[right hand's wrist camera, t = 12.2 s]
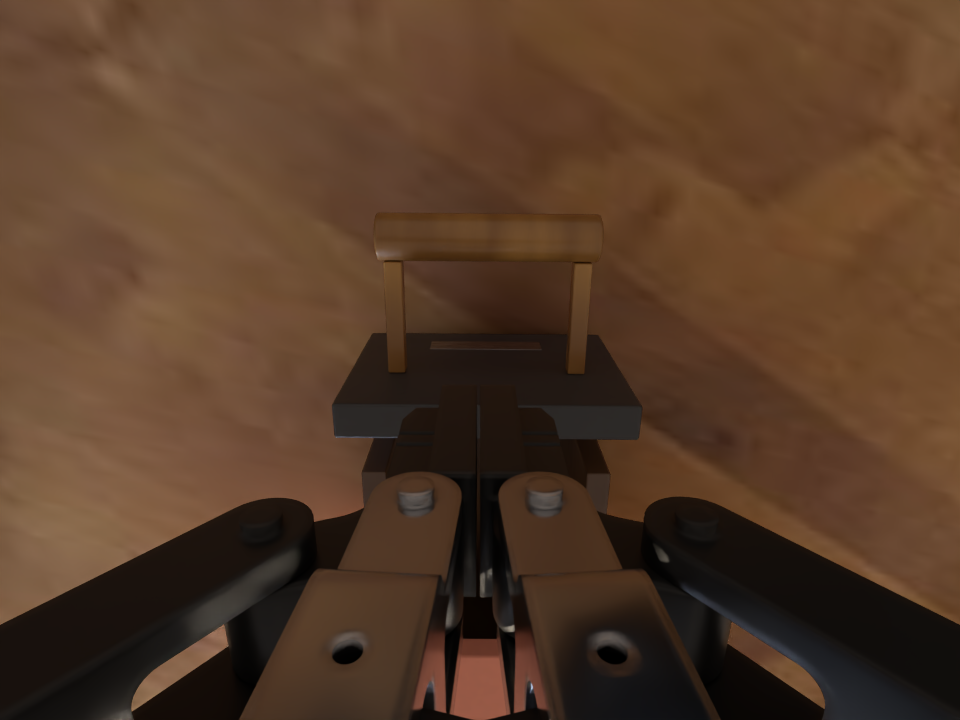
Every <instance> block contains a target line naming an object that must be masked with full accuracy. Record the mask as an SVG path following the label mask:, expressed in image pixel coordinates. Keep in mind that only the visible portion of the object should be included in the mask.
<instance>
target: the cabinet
mask: <svg viewBox="0 0 960 720" xmlns="http://www.w3.org/2000/svg"><path fill="white" fill-rule="evenodd" d="M454 715H456V716H460V717H464V718H468V719H473V720H487V719H492V718H496V717H500V716H504V715H506V707H505V699H504V692H503V684H502V676H501V668H500V660H499V653H498V645H497V639H463V645H462V653H461V660H460V668H459V676H458V684H457V692H456V699H455V707H454Z"/></svg>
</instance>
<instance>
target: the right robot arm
mask: <svg viewBox="0 0 960 720" xmlns="http://www.w3.org/2000/svg"><path fill="white" fill-rule="evenodd" d="M476 545H477V385H442V388H441V395H440V401H439V408H415V409H414V410H413V411H412V412H411V413H409V414H408V415H407V416H406V417H405V418H403V420H402V424H401V427H400V431H399V435H398V438H397V442H396V446H395V449H394V452H393V456H392V460H391V463H390V467H389V470H388V474H387V478H386V480H384V481H382V482H381V483H380V484H378V485H377V486H376V487H375V488H374V489H373V491H372V493H371V494H370V497H369V499H368V501H367V503H366V506H365V507H364V508H363V509H361V510H359V511H356V512H354V513H351V514H348V515H345V516H341V517H337V518H332V519H327V520H322V521H317V522H314V518H313V513H312V511H311V509H310V508H309V507H308V506H307V505H305V504H304V503H302V502H300V501H297V500H293V499H287V498H268V499H261V500H257V501H253V502H249V503H246V504H243V505H241V506H239V507H236V508H234V509H232V510H230V511H228V512H226V513H224V514H222V515H220V516H218V517H216V518H214V519H212V520H210V521H208V522H206V523H204V524H202V525H200V526H198V527H196V528H194V529H192V530H190V531H188V532H186V533H184V534H182V535H180V536H178V537H176V538H174V539H172V540H170V541H168V542H166V543H164V544H162V545H160V546H158V547H156V548H154V549H152V550H150V551H148V552H146V553H144V554H142V555H140V556H138V557H136V558H134V559H132V560H130V561H128V562H126V563H124V564H122V565H120V566H118V567H116V568H114V569H112V570H110V571H108V572H106V573H104V574H102V575H100V576H98V577H96V578H94V579H92V580H90V581H88V582H86V583H84V584H82V585H79V586H77V587H75V588H73V589H71V590H69V591H67V592H65V593H63V594H61V595H59V596H57V597H55V598H53V599H51V600H49V601H47V602H45V603H43V604H41V605H39V606H37V607H35V608H33V609H31V610H29V611H27V612H25V613H23V614H21V615H19V616H17V617H15V618H13V619H11V620H9V621H7V622H5V623H3V624H1V625H0V720H473V719H468V718H464V717H460V716H456V715H454V707H455V699H456V692H457V684H458V676H459V668H460V660H461V653H462V645H463V597H476ZM480 597H492V600H493V615H494V618H495V621H496V623H497V645H498V653H499V660H500V668H501V676H502V684H503V692H504V699H505V707H506V715H504V716H500V717H496V718H492V719H487V720H960V625H959V624H957V623H955V622H953V621H951V620H949V619H947V618H945V617H943V616H941V615H939V614H937V613H935V612H933V611H931V610H929V609H927V608H925V607H923V606H921V605H919V604H917V603H915V602H913V601H911V600H909V599H907V598H905V597H903V596H901V595H899V594H897V593H895V592H893V591H891V590H889V589H887V588H885V587H882V586H880V585H878V584H876V583H874V582H872V581H870V580H868V579H866V578H864V577H862V576H860V575H858V574H856V573H854V572H852V571H850V570H848V569H846V568H844V567H842V566H840V565H838V564H836V563H834V562H832V561H830V560H828V559H826V558H824V557H822V556H820V555H818V554H816V553H814V552H812V551H810V550H808V549H806V548H804V547H802V546H800V545H798V544H796V543H794V542H792V541H790V540H788V539H786V538H784V537H782V536H780V535H778V534H776V533H774V532H772V531H770V530H768V529H766V528H764V527H762V526H760V525H758V524H756V523H754V522H752V521H750V520H748V519H746V518H744V517H742V516H740V515H738V514H736V513H734V512H732V511H730V510H728V509H726V508H724V507H722V506H719V505H717V504H715V503H712V502H709V501H706V500H702V499H697V498H691V497H669V498H664V499H661V500H658V501H656V502H654V503H652V504H651V505H650V506H649V507H648V508H647V509H646V512H645V515H644V523H643V522H638V521H633V520H628V519H623V518H618V517H614V516H610V515H607V514H604V513H601V512H599V511H597V510H596V508H595V506H594V503H593V501H592V499H591V497H590V494H589V493H588V491H587V489H586V488H585V487H584V486H583V485H582V484H580V483H579V482H578V481H576V480H574V479H572V478H570V477H569V473H568V470H567V466H566V462H565V458H564V455H563V451H562V447H561V446H560V440H559V436H558V432H557V428H556V425H555V421H554V419H553V418H552V417H551V416H550V415H549V414H547V413H546V412H545V411H544V410H543V409H542V408H518V403H517V396H516V389H515V385H480ZM731 622H734V623H735V624H737V625H738V626H740V627H741V628H743V629H744V630H746V631H747V632H749V633H751V634H752V635H754V636H755V637H757V638H758V639H760V640H761V641H763V642H765V643H766V644H768V645H769V646H771V647H772V648H774V649H775V650H777V651H778V652H780V653H782V654H783V655H785V656H786V657H788V658H789V659H791V660H792V661H794V662H796V663H797V664H798V665H800V666H801V667H803V668H804V669H805V670H806V671H807V672H808V673H809V674H810V675H811V676H812V677H813V678H814V680H815V681H816V682H817V684H818V685H819V687H820V689H821V691H822V693H823V696H824V699H825V709H823V708H821V707H820V706H819V705H817V704H816V703H814V702H813V701H811V700H810V699H808V698H807V697H805V696H804V695H802V694H801V693H799V692H798V691H796V690H795V689H794V688H792V687H791V686H789V685H788V684H786V683H785V682H783V681H782V680H780V679H779V678H777V677H776V676H774V675H773V674H771V673H770V672H768V671H767V670H766V669H764V668H763V667H761V666H760V665H758V664H757V663H755V662H754V661H752V660H751V659H749V658H748V657H746V656H745V655H743V654H742V653H741V652H739V651H738V650H736V649H735V648H733V647H732V646H730V645H729V644H727V643H728V637H729V632H730V627H731ZM223 624H224V625H225V630H226V635H227V640H228V647H227V648H225V649H224V650H222V651H221V652H219V653H218V654H217V655H215V656H214V657H212V658H211V659H209V660H208V661H206V662H205V663H203V664H202V665H200V666H199V667H197V668H196V669H194V670H193V671H191V672H190V673H189V674H187V675H186V676H184V677H183V678H181V679H180V680H178V681H177V682H175V683H174V684H172V685H171V686H169V687H168V688H166V689H165V690H164V691H162V692H161V693H159V694H158V695H156V696H155V697H153V698H152V699H150V700H149V701H147V702H146V703H144V704H143V705H141V706H140V707H138V708H137V709H136V710H134V711H131V703H132V699H133V696H134V694H135V692H136V690H137V688H138V687H139V685H140V684H141V682H142V681H143V680H144V679H145V678H146V677H147V675H148V674H150V673H151V672H152V671H153V670H154V669H156V668H157V667H158V666H160V665H161V664H163V663H164V662H166V661H168V660H169V659H171V658H172V657H174V656H175V655H177V654H178V653H180V652H181V651H183V650H185V649H186V648H188V647H189V646H191V645H192V644H194V643H195V642H197V641H199V640H200V639H202V638H203V637H205V636H206V635H208V634H209V633H211V632H212V631H214V630H216V629H217V628H219V627H220V626H222V625H223Z"/></svg>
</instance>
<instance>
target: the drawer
mask: <svg viewBox="0 0 960 720" xmlns="http://www.w3.org/2000/svg"><path fill="white" fill-rule="evenodd" d="M373 235H374V249H375V254H376V257H377V259H378V260H381V261H384V263H383V267H384V288H385V309H386V329H387V333H373V334H372V335H371V337H370V339H369V340H368V342H367V344H366V346H365V347H364V349H363V351H362V353H361V354H360V356H359V358H358V360H357V362H356V363H355V365H354V367H353V369H352V370H351V372H350V374H349V376H348V377H347V379H346V381H345V383H344V385H343V386H342V388H341V390H340V392H339V393H338V395H337V397H336V399H335V400H334V402H333V404H332V412H333V423H334V435H335V437H337V438H374V440H373V443H372V445H371V448H370V451H369V454H368V456H367V459H366V462H365V465H364V468H363V470H362V484H363V498H364V507H365V506H366V503H367V501H368V499H369V497H370V494H371V493H372V491H373V489H374V488H375V487H376V486H377V485H378V484H380V483H381V482H382V481H384V480H386V478H387V474H388V470H389V467H390V463H391V460H392V456H393V452H394V449H395V446H396V442H397V438H398V435H399V431H400V427H401V424H402V420H403V418H405V417H406V416H407V415H408V414H409V413H411V412H412V411H413V410H414V409H415V408H439V401H440V395H441V388H442V385H477V545H476V597H463V639H497V623H496V621H495V618H494V615H493V600H492V597H480V385H515V389H516V396H517V403H518V408H542V409H543V410H544V411H545V412H546V413H547V414H549V415H550V416H551V417H552V418H553V419H554V421H555V425H556V428H557V432H558V436H559V440H560V446H561V447H562V451H563V455H564V458H565V462H566V466H567V470H568V473H569V477H570V478H572V479H574V480H576V481H578V482H579V483H580V484H582V485H583V486H584V487H585V488H586V489H587V491H588V493H589V494H590V497H591V499H592V501H593V503H594V506H595V508H596V510H597V511H599V512H601V513H604V514H607V505H608V495H609V484H610V472H609V470H608V467H607V465H606V462H605V460H604V457H603V455H602V452H601V449H600V447H599V444H598V442H597V440H637V439H638V438H639V434H640V425H641V416H642V406H641V404H640V402H639V401H638V399H637V398H636V396H635V394H634V393H633V391H632V389H631V388H630V386H629V384H628V383H627V381H626V380H625V378H624V376H623V375H622V373H621V371H620V370H619V368H618V367H617V365H616V363H615V362H614V360H613V358H612V357H611V355H610V354H609V352H608V350H607V349H606V347H605V345H604V344H603V342H602V341H601V339H600V337H599V336H598V335H587V331H588V318H589V305H590V291H591V278H592V263H591V262H598V261H599V259H600V256H601V253H602V247H603V222H602V218H601V216H600V215H593V214H478V213H377V214H376V216H375V220H374V231H373ZM403 261H499V262H572V272H571V288H570V304H569V320H568V335H543V334H420V333H406V320H405V293H404V266H403Z"/></svg>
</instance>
